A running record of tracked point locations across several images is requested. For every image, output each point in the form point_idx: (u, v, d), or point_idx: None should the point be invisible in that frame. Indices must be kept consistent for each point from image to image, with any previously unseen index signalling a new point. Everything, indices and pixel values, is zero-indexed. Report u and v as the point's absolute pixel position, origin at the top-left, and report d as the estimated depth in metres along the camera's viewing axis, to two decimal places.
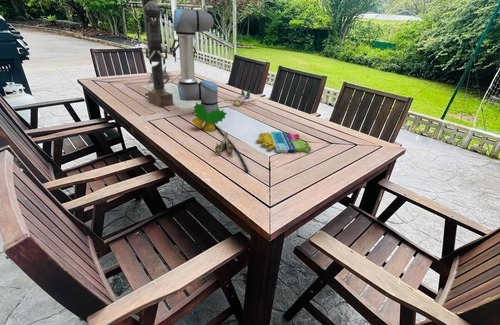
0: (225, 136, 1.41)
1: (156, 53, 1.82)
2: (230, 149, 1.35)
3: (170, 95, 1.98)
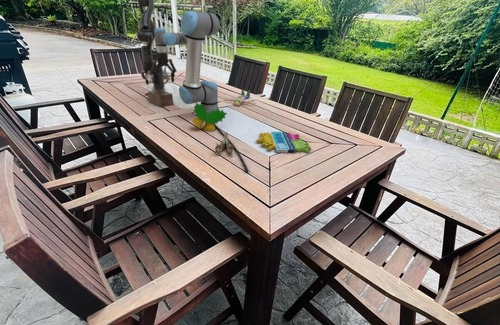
0: (225, 136, 1.41)
1: (150, 73, 1.99)
2: (230, 149, 1.35)
3: (170, 95, 1.98)
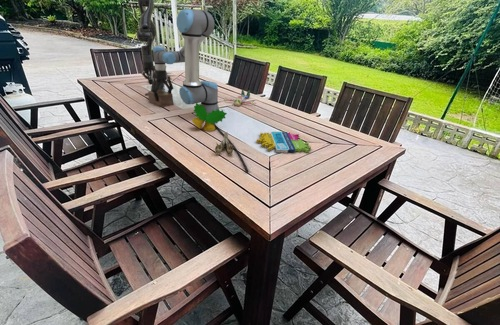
0: (225, 136, 1.41)
1: (150, 73, 1.99)
2: (230, 149, 1.35)
3: (170, 95, 1.98)
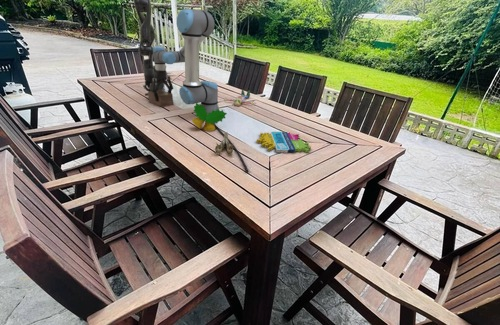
0: (225, 136, 1.41)
1: (151, 85, 2.04)
2: (230, 149, 1.35)
3: (170, 95, 1.98)
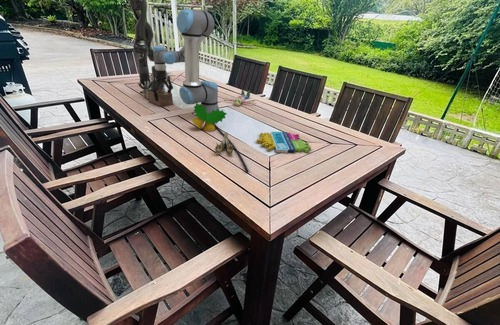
0: (225, 136, 1.41)
1: (146, 83, 2.08)
2: (230, 149, 1.35)
3: (170, 95, 1.98)
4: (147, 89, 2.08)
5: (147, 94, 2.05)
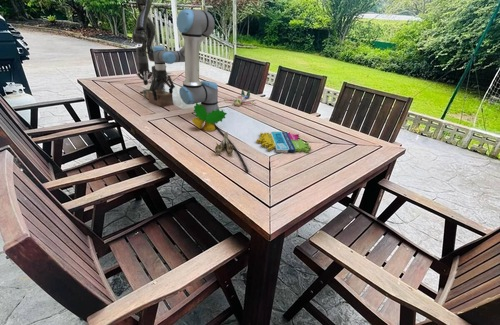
0: (225, 136, 1.41)
1: (145, 73, 2.04)
2: (230, 149, 1.35)
3: (170, 95, 1.98)
4: (147, 89, 2.08)
5: (147, 94, 2.05)
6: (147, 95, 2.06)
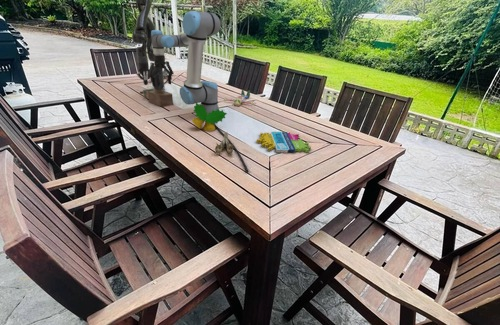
0: (225, 136, 1.41)
1: (145, 73, 2.04)
2: (230, 149, 1.35)
3: (170, 95, 1.98)
4: (147, 89, 2.08)
5: (147, 94, 2.05)
6: (147, 95, 2.06)
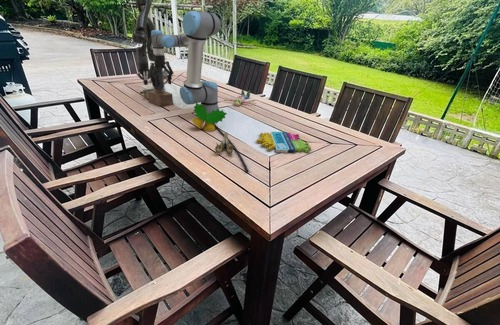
0: (225, 136, 1.41)
1: (145, 73, 2.04)
2: (230, 149, 1.35)
3: (170, 95, 1.98)
4: (147, 89, 2.08)
5: (147, 94, 2.05)
6: (147, 95, 2.06)
